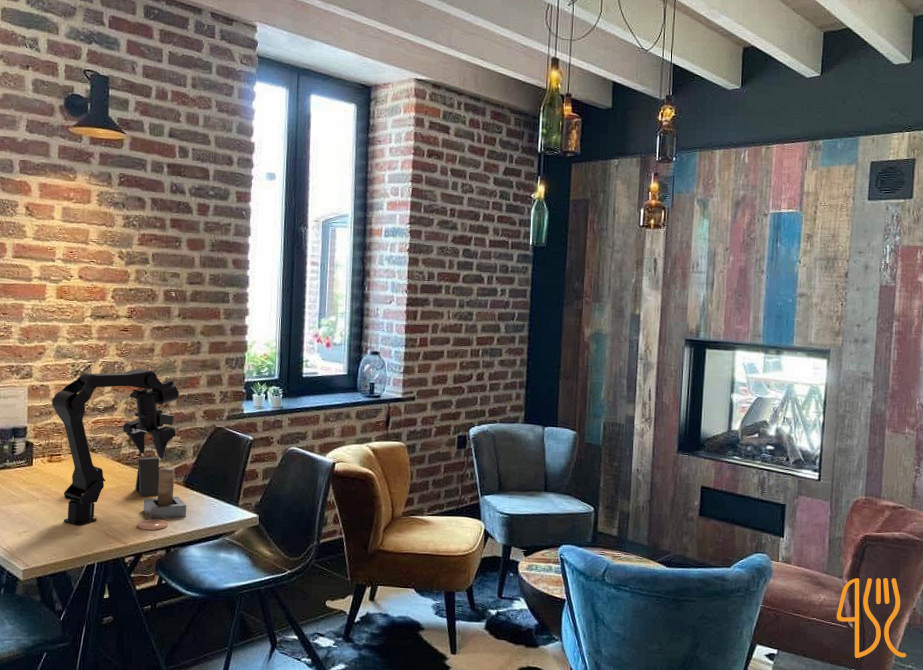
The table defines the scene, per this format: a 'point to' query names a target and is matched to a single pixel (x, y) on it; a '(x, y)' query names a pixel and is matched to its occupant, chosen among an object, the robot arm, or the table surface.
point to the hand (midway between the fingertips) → (151, 455)
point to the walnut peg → (165, 486)
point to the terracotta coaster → (152, 524)
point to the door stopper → (148, 476)
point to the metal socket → (164, 508)
